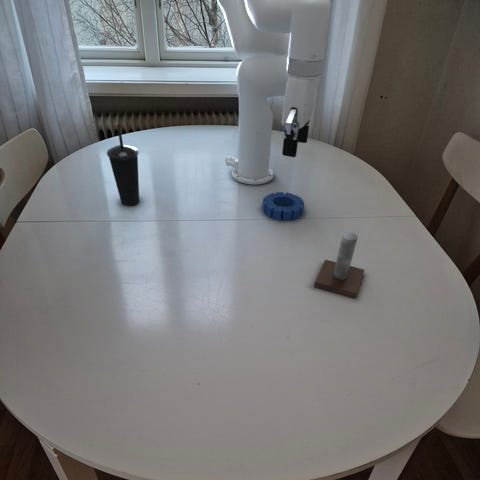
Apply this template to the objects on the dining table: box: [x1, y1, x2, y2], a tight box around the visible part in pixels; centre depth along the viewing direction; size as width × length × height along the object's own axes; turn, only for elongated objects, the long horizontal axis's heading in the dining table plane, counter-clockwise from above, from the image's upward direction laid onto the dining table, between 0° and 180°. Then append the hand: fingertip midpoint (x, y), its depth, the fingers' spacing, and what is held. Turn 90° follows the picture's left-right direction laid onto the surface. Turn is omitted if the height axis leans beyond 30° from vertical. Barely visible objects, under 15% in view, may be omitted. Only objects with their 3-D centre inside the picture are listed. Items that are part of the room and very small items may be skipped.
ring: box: [262, 191, 305, 222], centre depth 115 cm, size 11×11×3 cm
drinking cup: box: [106, 124, 140, 207], centre depth 110 cm, size 8×8×20 cm
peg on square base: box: [313, 231, 365, 299], centre depth 91 cm, size 9×9×12 cm
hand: (294, 148), depth 103 cm, fingers open, 9 cm apart
